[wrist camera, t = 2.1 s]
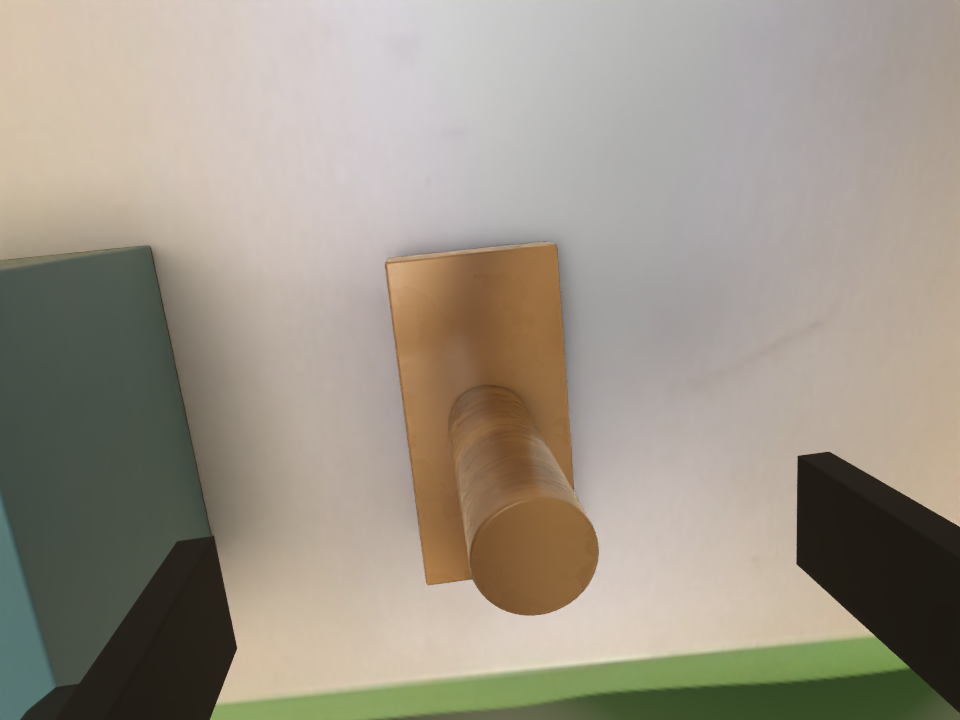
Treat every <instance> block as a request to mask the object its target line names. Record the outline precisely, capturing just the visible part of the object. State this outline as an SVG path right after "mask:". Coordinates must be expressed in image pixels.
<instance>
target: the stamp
mask: <svg viewBox="0 0 960 720" xmlns="http://www.w3.org/2000/svg"><path fill="white" fill-rule="evenodd" d="M385 270H386V277H387V285H388V293H389V300H390V308H391V316H392V323H393V331H394V339H395V347H396V354H397V362H398V370H399V377H400V385H401V393H402V400H403V408H404V416H405V423H406V431H407V439H408V447H409V454H410V462H411V470H412V477H413V485H414V493H415V500H416V508H417V516H418V523H419V531H420V539H421V546H422V554H423V562H424V570H425V577H426V583H427V585H434V584H441V583H448V582H455V581H462V580H469V579H473V581H474V583H475V584H476V586H477V588H478V589H479V591H480V592H481V594H482V595H483V596H484V597H485V598H486V599H487V600H489V601H490V602H491V603H492V604H494V605H495V606H497V607H499V608H500V609H503V610H505V611H507V612H511V613H514V614H519V615H541V614H546V613H550V612H553V611H556V610H558V609H560V608H562V607H564V606H566V605H568V604H569V603H571V602H572V601H573V600H575V599H576V598H577V597H578V596H579V595H580V594H581V593H582V592H583V591H584V590H585V588H586V587H587V586H588V584H589V583H590V581H591V579H592V577H593V575H594V573H595V570H596V566H597V563H598V556H599V546H598V539H597V536H596V532H595V530H594V528H593V526H592V524H591V522H590V520H589V518H588V517H587V515H586V513H585V511H584V509H583V508H582V506H581V504H580V502H579V500H578V499H577V497H576V495H575V493H574V481H573V467H572V453H571V438H570V424H569V410H568V395H567V381H566V367H565V352H564V338H563V324H562V309H561V295H560V281H559V266H558V252H557V245H556V244H552V243H549V242H546V241H542V242H533V243H524V244H514V245H505V246H495V247H486V248H476V249H467V250H458V251H448V252H439V253H429V254H420V255H410V256H401V257H392V258H388V259H387V260H386V263H385Z"/></svg>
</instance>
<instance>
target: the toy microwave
mask: <svg viewBox="0 0 960 720" xmlns="http://www.w3.org/2000/svg"><path fill="white" fill-rule="evenodd" d="M203 537H211V534H210V530H209V525H208V520H207V515H206V511H205V506H204V501H203V496H202V492H201V487H200V482H199V477H198V473H197V468H196V463H195V458H194V454H193V449H192V444H191V439H190V435H189V430H188V425H187V420H186V416H185V411H184V406H183V401H182V397H181V392H180V387H179V382H178V378H177V373H176V368H175V363H174V359H173V354H172V349H171V344H170V340H169V335H168V330H167V325H166V321H165V316H164V311H163V306H162V302H161V297H160V292H159V287H158V283H157V278H156V273H155V268H154V264H153V259H152V254H151V249H150V247H149V246H147V245H146V246H136V247H126V248H117V249H107V250H97V251H87V252H77V253H68V254H58V255H48V256H38V257H28V258H19V259H9V260H0V720H20V719H21V718H22V716H23V715H24V714H25V712H26V711H27V710H28V709H30V708H31V707H32V706H33V705H35V704H36V703H37V702H38V701H40V700H41V699H42V698H43V697H44V696H46V695H47V694H48V693H49V692H51V691H52V690H53V689H54V688H55V687H60V686H66V685H73V684H79V683H80V682H81V680H82V679H83V677H84V676H85V674H86V673H87V672H88V670H89V669H90V667H91V666H92V664H93V663H94V661H95V660H96V658H97V657H98V656H99V654H100V653H101V651H102V650H103V648H104V647H105V645H106V644H107V642H108V641H109V640H110V638H111V637H112V635H113V634H114V632H115V631H116V629H117V628H118V626H119V625H120V624H121V622H122V621H123V619H124V618H125V616H126V615H127V613H128V612H129V610H130V609H131V608H132V606H133V605H134V603H135V602H136V600H137V599H138V597H139V596H140V594H141V593H142V592H143V590H144V589H145V587H146V586H147V584H148V583H149V581H150V580H151V578H152V577H153V576H154V574H155V573H156V571H157V570H158V568H159V567H160V565H161V564H162V562H163V561H164V560H165V558H166V557H167V555H168V554H169V552H170V551H171V549H172V548H173V546H174V545H175V544H176V542H177V541H181V540H189V539H196V538H203Z"/></svg>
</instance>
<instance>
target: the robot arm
mask: <svg viewBox="0 0 960 720" xmlns="http://www.w3.org/2000/svg"><path fill="white" fill-rule="evenodd" d="M797 565H798V566H799V567H800V568H801V569H803V570H804V571H805V572H806V573H807V574H808V575H809V576H810V577H811V578H812V579H814V580H815V581H816V582H817V583H818V584H819V585H820V586H821V587H822V588H823V589H824V590H826V591H827V592H828V593H829V594H830V595H831V596H832V597H833V598H834V599H835V600H837V601H838V602H839V603H840V604H841V605H842V606H843V607H844V608H845V609H846V610H847V611H849V612H850V613H851V614H852V615H853V616H854V617H855V618H856V619H857V620H858V621H860V622H861V623H862V624H863V625H864V626H865V627H866V628H867V629H868V630H869V631H870V632H872V633H873V634H874V635H875V636H876V637H877V638H878V639H879V640H880V641H881V642H883V643H884V644H885V645H886V646H887V647H888V648H889V649H890V650H891V651H892V652H893V653H895V654H896V655H897V656H898V657H899V658H900V659H901V660H902V661H903V662H904V663H906V664H907V665H908V666H909V667H910V668H911V669H912V670H913V671H914V672H916V674H918V675H919V676H920V677H921V678H922V679H923V680H924V681H925V682H926V683H928V684H929V685H930V686H931V687H932V688H933V689H934V690H935V691H936V692H937V693H938V694H940V695H941V696H942V697H943V698H944V699H945V700H946V701H947V702H948V703H950V705H952V706H953V707H954V708H955V709H956V710H957V711H958V712H959V713H960V527H959V526H957V525H956V524H954V523H952V522H950V521H949V520H947V519H945V518H943V517H942V516H940V515H938V514H936V513H935V512H933V511H931V510H930V509H928V508H926V507H924V506H923V505H921V504H919V503H917V502H916V501H914V500H912V499H910V498H909V497H907V496H905V495H904V494H902V493H900V492H898V491H897V490H895V489H893V488H891V487H890V486H888V485H886V484H884V483H883V482H881V481H879V480H878V479H876V478H874V477H872V476H871V475H869V474H867V473H865V472H864V471H862V470H860V469H858V468H857V467H855V466H853V465H852V464H850V463H848V462H846V461H845V460H843V459H841V458H839V457H838V456H836V455H834V454H832V453H831V452H823V453H816V454H809V455H801V456H798V474H797ZM236 650H237V646H236V641H235V636H234V631H233V626H232V621H231V617H230V612H229V607H228V602H227V597H226V592H225V587H224V583H223V578H222V573H221V568H220V563H219V558H218V554H217V549H216V544H215V539H214V536H211V537H203V538H196V539H189V540H181V541H177V542H176V544H175V545H174V546H173V548H172V549H171V551H170V552H169V554H168V555H167V557H166V558H165V560H164V561H163V562H162V564H161V565H160V567H159V568H158V570H157V571H156V573H155V574H154V576H153V577H152V578H151V580H150V581H149V583H148V584H147V586H146V587H145V589H144V590H143V592H142V593H141V594H140V596H139V597H138V599H137V600H136V602H135V603H134V605H133V606H132V608H131V609H130V610H129V612H128V613H127V615H126V616H125V618H124V619H123V621H122V622H121V624H120V625H119V626H118V628H117V629H116V631H115V632H114V634H113V635H112V637H111V638H110V640H109V641H108V642H107V644H106V645H105V647H104V648H103V650H102V651H101V653H100V654H99V656H98V657H97V658H96V660H95V661H94V663H93V664H92V666H91V667H90V669H89V670H88V672H87V673H86V674H85V676H84V677H83V679H82V680H81V682H80V683H79V684H73V685H66V686H60V687H55V688H54V689H53V690H52V691H51V692H49V693H48V694H47V695H46V696H44V697H43V698H42V699H41V700H40V701H38V702H37V703H36V704H35V705H33V706H32V707H31V708H30V709H28V710H27V711H26V712H25V714H24V715H23V716H22V718H21V719H20V720H210V718H211V715H212V712H213V710H214V707H215V704H216V702H217V699H218V697H219V694H220V691H221V689H222V686H223V684H224V681H225V678H226V676H227V673H228V671H229V668H230V665H231V663H232V660H233V658H234V655H235V652H236Z"/></svg>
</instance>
